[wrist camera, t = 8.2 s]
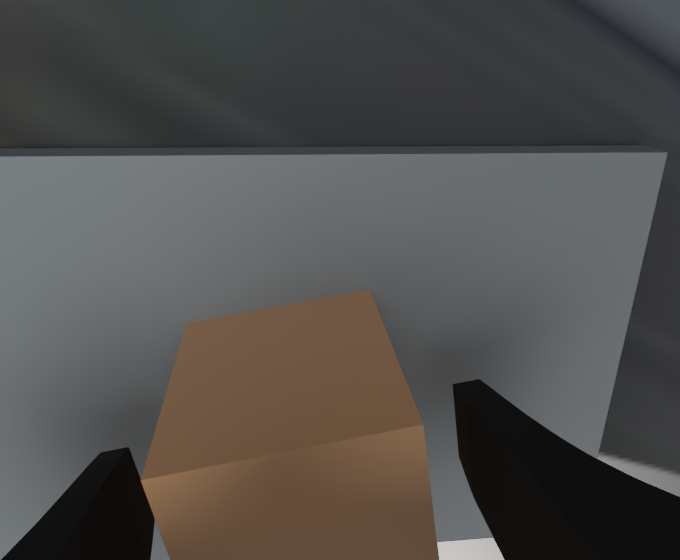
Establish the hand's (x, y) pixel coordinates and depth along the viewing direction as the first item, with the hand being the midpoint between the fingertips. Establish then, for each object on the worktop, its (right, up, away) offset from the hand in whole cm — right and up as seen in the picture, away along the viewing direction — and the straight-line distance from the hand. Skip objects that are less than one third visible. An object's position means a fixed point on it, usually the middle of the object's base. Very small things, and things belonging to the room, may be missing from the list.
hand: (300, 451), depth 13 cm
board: (0, +1, +3) cm, 4 cm away
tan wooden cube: (0, +1, +2) cm, 3 cm away
